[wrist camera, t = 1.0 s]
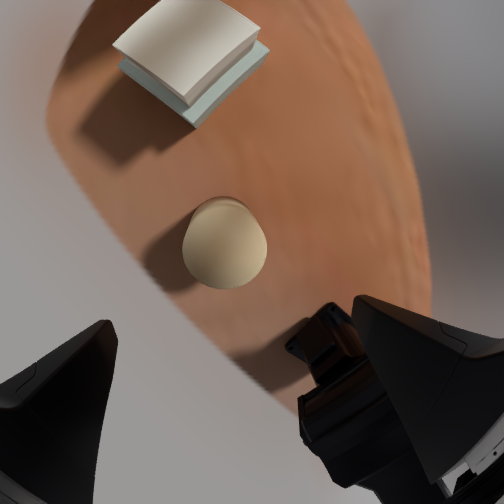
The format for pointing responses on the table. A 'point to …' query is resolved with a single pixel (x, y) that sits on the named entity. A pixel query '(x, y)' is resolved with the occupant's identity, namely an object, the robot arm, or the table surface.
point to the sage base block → (212, 95)
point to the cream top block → (188, 44)
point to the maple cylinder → (224, 244)
